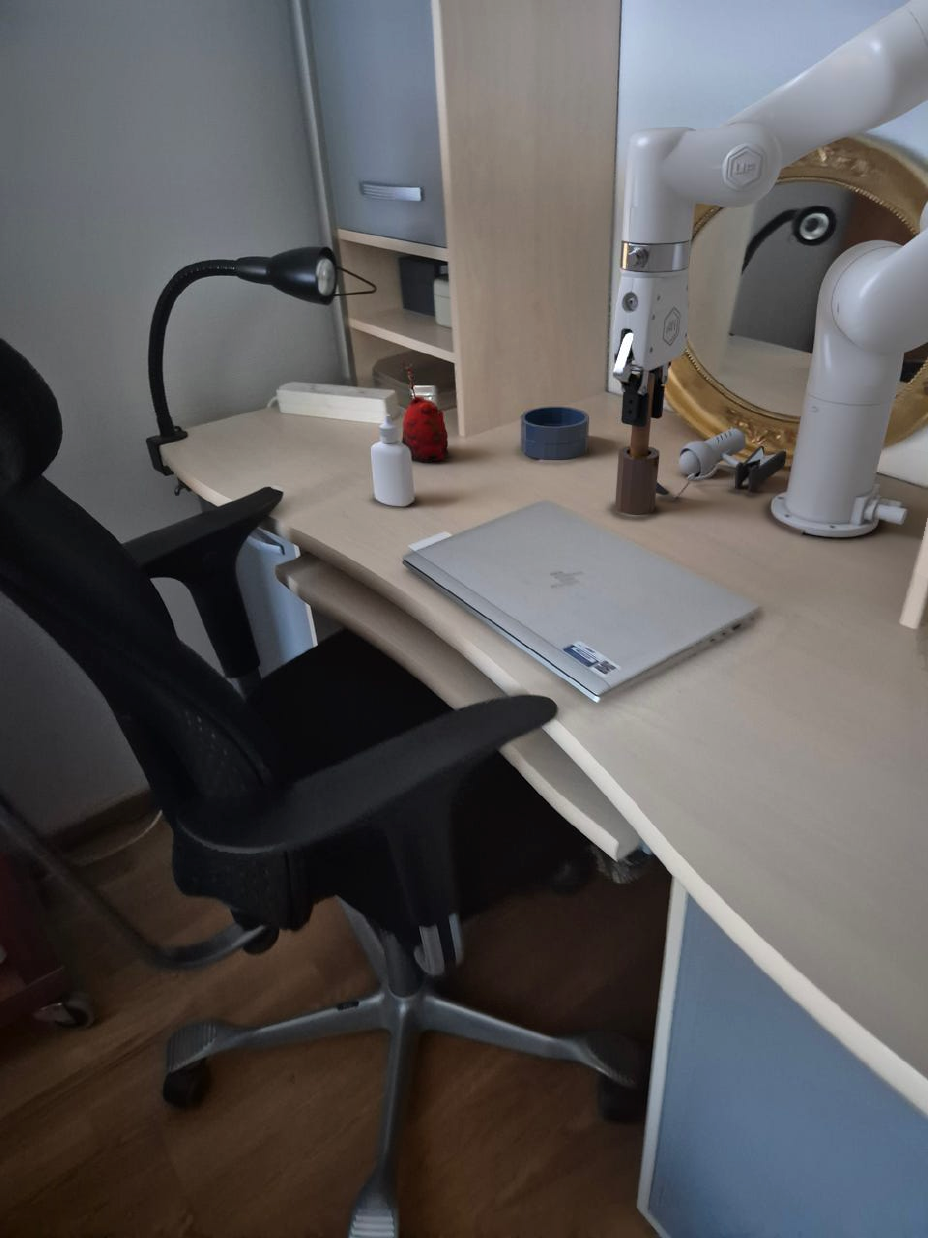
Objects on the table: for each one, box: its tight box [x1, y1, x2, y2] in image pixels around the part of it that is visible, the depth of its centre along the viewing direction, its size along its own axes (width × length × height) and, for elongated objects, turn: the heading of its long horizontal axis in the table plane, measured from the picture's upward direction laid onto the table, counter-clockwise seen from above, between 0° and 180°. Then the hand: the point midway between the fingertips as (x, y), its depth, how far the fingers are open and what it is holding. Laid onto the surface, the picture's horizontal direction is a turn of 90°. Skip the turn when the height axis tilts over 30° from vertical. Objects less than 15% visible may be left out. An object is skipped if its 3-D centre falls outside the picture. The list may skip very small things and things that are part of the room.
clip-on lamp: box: [656, 427, 787, 498], centre depth 110 cm, size 12×6×18 cm
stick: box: [630, 372, 655, 457], centre depth 101 cm, size 2×2×17 cm
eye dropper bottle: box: [370, 413, 415, 507], centre depth 108 cm, size 4×6×12 cm
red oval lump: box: [400, 360, 449, 463], centre depth 121 cm, size 8×7×15 cm
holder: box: [614, 445, 660, 516], centre depth 103 cm, size 5×5×8 cm
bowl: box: [520, 405, 590, 461], centre depth 123 cm, size 10×10×6 cm
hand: (641, 419), depth 99 cm, fingers open, 3 cm apart
